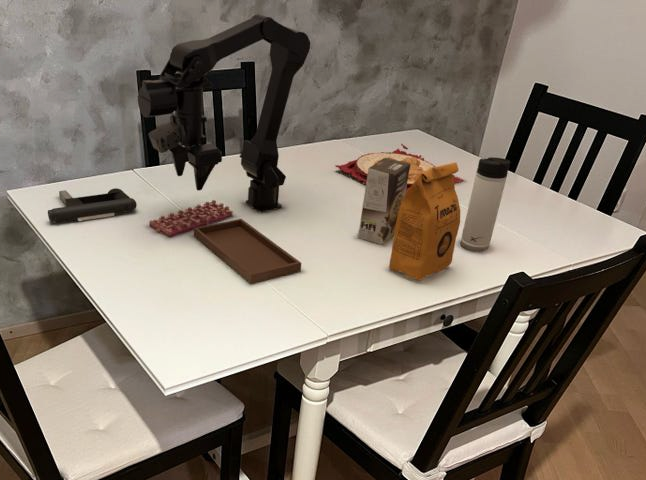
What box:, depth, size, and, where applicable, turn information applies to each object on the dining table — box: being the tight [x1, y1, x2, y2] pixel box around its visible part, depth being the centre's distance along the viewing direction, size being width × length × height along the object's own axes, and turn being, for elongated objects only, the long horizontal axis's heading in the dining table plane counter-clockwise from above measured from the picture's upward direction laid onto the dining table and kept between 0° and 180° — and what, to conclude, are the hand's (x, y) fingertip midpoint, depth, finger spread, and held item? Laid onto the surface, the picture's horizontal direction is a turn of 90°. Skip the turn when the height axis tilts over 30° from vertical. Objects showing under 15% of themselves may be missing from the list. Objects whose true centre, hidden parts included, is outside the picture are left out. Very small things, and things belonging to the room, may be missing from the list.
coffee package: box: [388, 162, 461, 281], centre depth 148 cm, size 10×12×22 cm
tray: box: [193, 218, 302, 285], centre depth 156 cm, size 12×24×2 cm, turn 32°
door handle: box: [47, 187, 138, 223], centre depth 171 cm, size 3×20×16 cm
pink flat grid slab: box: [148, 199, 234, 238], centre depth 167 cm, size 7×19×2 cm, turn 134°
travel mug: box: [459, 156, 511, 253], centre depth 159 cm, size 6×7×20 cm
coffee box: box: [357, 158, 411, 246], centre depth 163 cm, size 9×6×16 cm
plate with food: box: [334, 143, 464, 194], centre depth 198 cm, size 24×26×3 cm
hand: (189, 182), depth 163 cm, fingers open, 9 cm apart
